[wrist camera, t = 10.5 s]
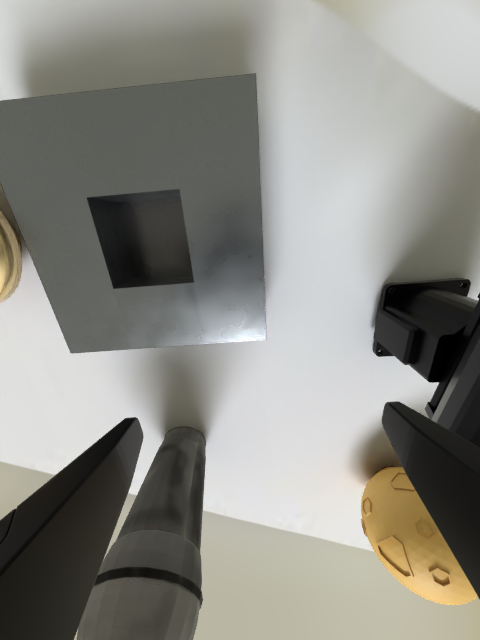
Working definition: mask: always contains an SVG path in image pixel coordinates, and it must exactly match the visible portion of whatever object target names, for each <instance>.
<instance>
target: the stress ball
mask: <svg viewBox="0 0 480 640" xmlns="http://www.w3.org/2000/svg"><path fill="white" fill-rule="evenodd" d="M361 512H362V519H361V522H362V527H363V530H364V534H365V535H366V536H367V537H368V540H369V542H370V544H371V546H372V548H373V550H374V551H375V553H376V555H377V556H378V558H379V560H380V561H381V562H382V563H383V565H384V566H385V567H386V568H387V570H388V571H389V572H390V573H391V574H392V575H393V576H394V577H395V578H396V579H397V580H398V581H399V582H401V583H402V584H403V585H404V586H405V587H407V588H408V589H410V590H411V591H412V592H414V593H416V594H417V595H419V596H421V597H423V598H425V599H428V600H430V601H434V602H437V603H441V604H447V605H459V604H465V603H468V602H470V601H473V600H474V599H475V598H477V597H478V596H477V594H476V592H475V591H474V589H473V587H472V585H471V584H470V582H469V580H468V579H467V577H466V575H465V574H464V572H463V570H462V568H461V567H460V565H459V563H458V562H457V560H456V558H455V557H454V555H453V553H452V551H451V550H450V548H449V546H448V545H447V543H446V541H445V540H444V538H443V536H442V534H441V533H440V531H439V529H438V528H437V526H436V524H435V523H434V521H433V519H432V517H431V516H430V514H429V512H428V511H427V509H426V507H425V506H424V504H423V502H422V500H421V499H420V497H419V495H418V494H417V492H416V490H415V489H414V487H413V485H412V483H411V482H410V480H409V478H408V477H407V475H406V473H405V471H404V469H403V467H387V468H384V469H382V470H380V471H378V472H377V474H375V475H374V476H373V477H372V478H371V479H370V480H369V482H368V483H367V485H366V487H365V490H364V492H363V496H362V503H361Z"/></svg>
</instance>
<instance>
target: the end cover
mask: <svg viewBox="0 0 480 640" xmlns="http://www.w3.org/2000/svg"><path fill="white" fill-rule="evenodd" d="M21 272H22V260H21V243H20V240H19V237H18V235H17V232H16V231H15V229H14V228H13V226H12V225H11V224H10V223H9V221H8V220H7V219H6V218H5V216H4V215H3V213H2V212H1V211H0V303H1V302H3V301H5V300H6V299H7V298H9V297H10V296H11V295H12V294H13V292H14V291H15V289H16V288H17V286H18V284H19V281H20V278H21Z"/></svg>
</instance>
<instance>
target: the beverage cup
mask: <svg viewBox="0 0 480 640" xmlns="http://www.w3.org/2000/svg"><path fill="white" fill-rule="evenodd" d="M205 446H206V441H205V438H204V436H203V435H202V434H201V433H200V432H199V431H197V430H195V429H193V428H189V427H178V428H174V429H172V430H170V431H169V432H168V433H167V434H166V436H165V439H164V441H163V442H162V444H161V446H160V447H159V449H158V452H157V454H156V456H155V458H154V460H153V462H152V464H151V467H150V469H149V471H148V473H147V475H146V477H145V480H144V482H143V484H142V486H141V488H140V490H139V492H138V495H137V497H136V499H135V501H134V503H133V505H132V508H131V510H130V512H129V514H128V516H127V518H126V520H125V523H124V525H123V527H122V529H121V531H120V533H119V536H118V538H117V540H116V542H115V543H114V544H113V545H112V546H111V548H110V550H109V552H108V554H107V555H106V557H105V559H104V561H103V562H102V564H101V567H100V570H99V573H98V575H97V578H96V581H95V583H94V586H93V589H92V591H91V594H90V597H89V600H88V602H87V605H86V608H85V610H84V613H83V616H82V619H81V621H80V624H79V627H78V634H77V640H193V637H194V634H195V630H196V626H197V620H198V614H199V610H200V608H201V605H202V601H203V598H202V592H201V584H202V575H201V556H200V544H201V528H202V527H201V526H202V511H203V494H204V477H205V461H206V456H205Z"/></svg>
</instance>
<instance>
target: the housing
mask: <svg viewBox="0 0 480 640" xmlns="http://www.w3.org/2000/svg"><path fill="white" fill-rule="evenodd" d="M0 182H1V185H2V187H3V190H4V192H5V195H6V197H7V200H8V202H9V204H10V207H11V209H12V212H13V214H14V217H15V219H16V221H17V224H18V226H19V229H20V231H21V234H22V236H23V238H24V241H25V243H26V246H27V248H28V251H29V253H30V255H31V258H32V260H33V263H34V265H35V268H36V270H37V272H38V275H39V277H40V280H41V282H42V285H43V287H44V289H45V292H46V294H47V297H48V299H49V302H50V304H51V306H52V309H53V311H54V314H55V316H56V319H57V321H58V323H59V326H60V328H61V331H62V333H63V336H64V338H65V340H66V343H67V345H68V348H69V350H70V353H84V352H98V351H112V350H127V349H141V348H156V347H170V346H185V345H199V344H213V343H228V342H242V341H257V340H267V336H266V311H265V287H264V262H263V237H262V212H261V188H260V163H259V138H258V113H257V88H256V73H255V74H245V75H236V76H227V77H217V78H208V79H199V80H189V81H180V82H171V83H161V84H152V85H143V86H133V87H124V88H115V89H105V90H96V91H87V92H77V93H68V94H59V95H50V96H40V97H31V98H22V99H12V100H3V101H0Z"/></svg>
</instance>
